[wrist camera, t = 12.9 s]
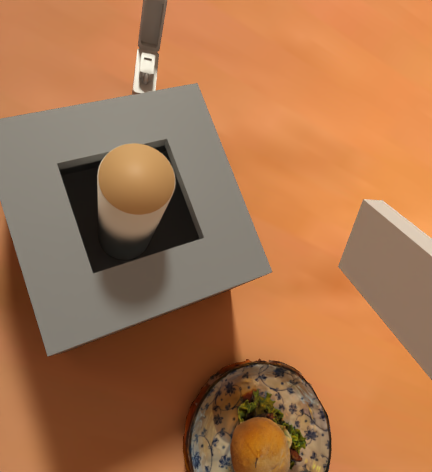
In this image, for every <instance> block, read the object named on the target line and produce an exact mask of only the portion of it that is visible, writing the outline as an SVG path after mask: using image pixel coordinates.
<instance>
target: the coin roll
mask: <svg viewBox="0 0 432 472" xmlns="http://www.w3.org/2000/svg"><path fill="white" fill-rule="evenodd" d="M97 189H98V237H99V242H100V245H101V247H102V248H103V250H104V251H105V252H106V253H107V254H108V255H110V256H112V257H113V258H116V259H120V260H129V259H133V258H135V257H137V256H139V255H141V254H142V253H143V252H144V251H145V249H146V248H147V246H148V244H149V242H150V240H151V238H152V236H153V234H154V232H155V230H156V228H157V226H158V224H159V222H160V220H161V218H162V216H163V214H164V212H165V210H166V208H167V206H168V203H169V201H170V199H171V197H172V195H173V193H174V189H175V174H174V171H173V168H172V166H171V164H170V162H169V161H168V160H167V158H166V157H165V156H164V155H163V154H162V153H160V152H159V151H158V150H156V149H154V148H152V147H150V146H147V145H144V144H136V143H132V144H124V145H121V146H118V147H116V148H114V149H113V150H111V151H110V152H109V153H108V154H107V155H106V156H105V157H104V158H103V160H102V161H101V163H100V165H99V169H98V174H97Z"/></svg>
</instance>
